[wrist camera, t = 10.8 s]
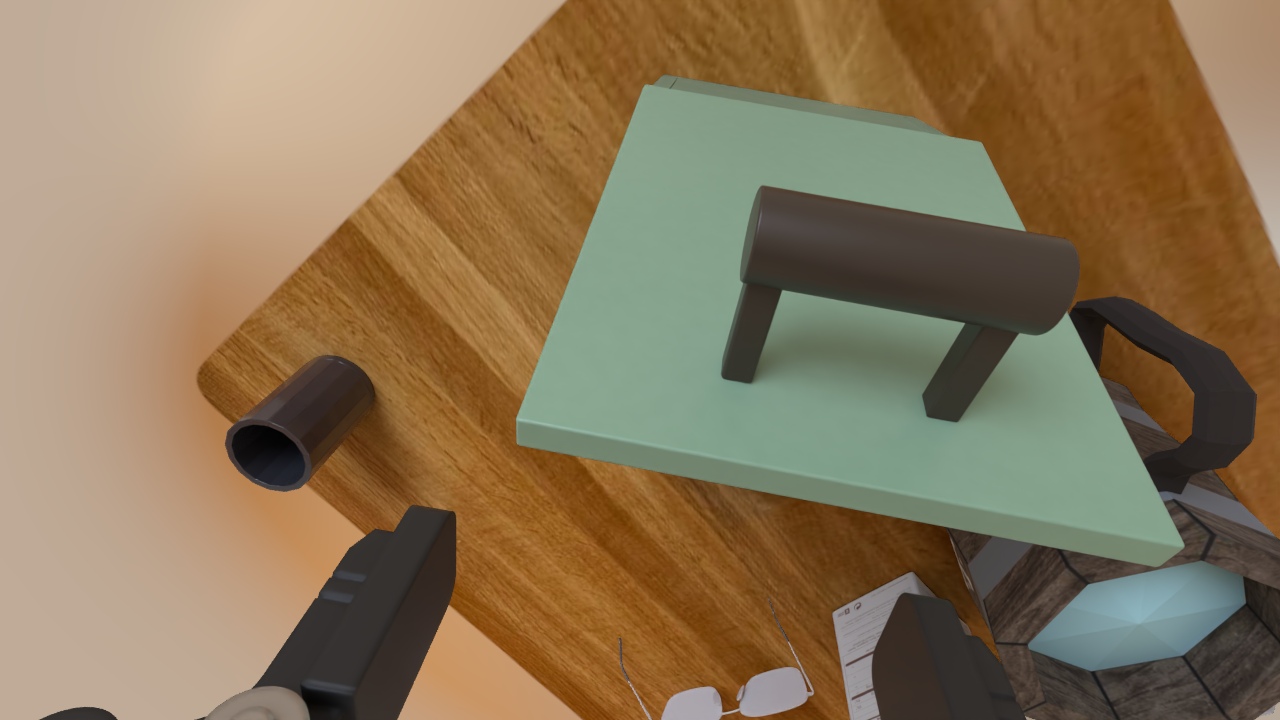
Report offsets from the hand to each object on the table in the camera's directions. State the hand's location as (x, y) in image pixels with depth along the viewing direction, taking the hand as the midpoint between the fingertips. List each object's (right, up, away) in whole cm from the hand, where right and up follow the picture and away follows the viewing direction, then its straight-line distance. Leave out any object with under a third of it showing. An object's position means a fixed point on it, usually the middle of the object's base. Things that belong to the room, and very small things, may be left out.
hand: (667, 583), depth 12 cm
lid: (+5, +7, +8) cm, 11 cm away
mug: (+24, +1, +29) cm, 37 cm away
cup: (-21, +2, +34) cm, 40 cm away
